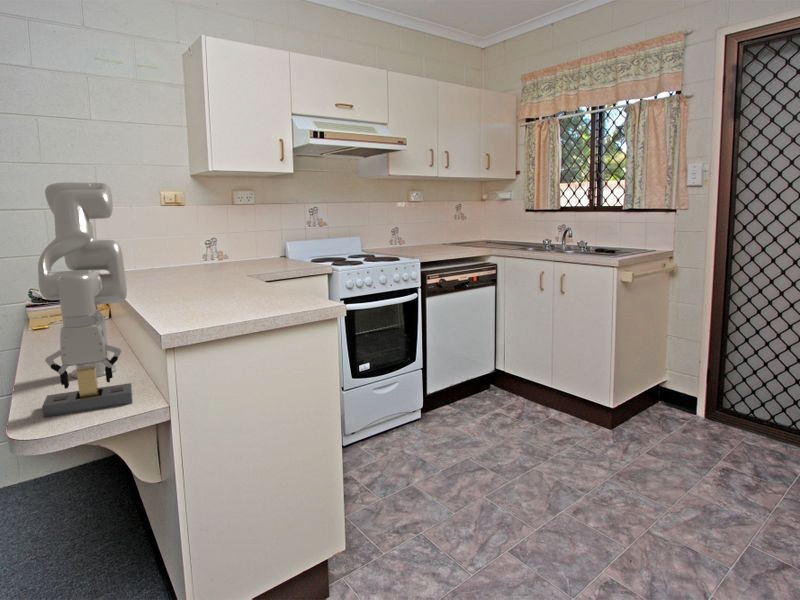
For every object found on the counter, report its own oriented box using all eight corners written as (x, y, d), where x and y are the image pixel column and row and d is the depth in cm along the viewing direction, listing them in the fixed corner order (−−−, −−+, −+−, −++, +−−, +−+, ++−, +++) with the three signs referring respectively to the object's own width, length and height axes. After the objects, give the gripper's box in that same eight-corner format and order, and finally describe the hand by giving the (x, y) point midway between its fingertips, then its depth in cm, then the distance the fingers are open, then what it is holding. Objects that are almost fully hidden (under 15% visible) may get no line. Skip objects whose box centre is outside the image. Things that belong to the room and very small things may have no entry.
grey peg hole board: (48, 406, 141) (47, 395, 140) (132, 393, 149) (131, 382, 149) (43, 417, 133) (42, 406, 132) (132, 403, 141) (131, 392, 141)
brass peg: (82, 403, 142) (78, 368, 140) (99, 401, 144) (95, 365, 142) (81, 408, 138) (76, 372, 137) (98, 405, 140) (94, 369, 138)
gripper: (117, 315, 144) (124, 375, 147) (42, 322, 137) (51, 385, 140) (117, 320, 138) (124, 382, 141) (38, 328, 130) (47, 394, 133)
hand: (88, 384), depth 140 cm, fingers open, 9 cm apart
